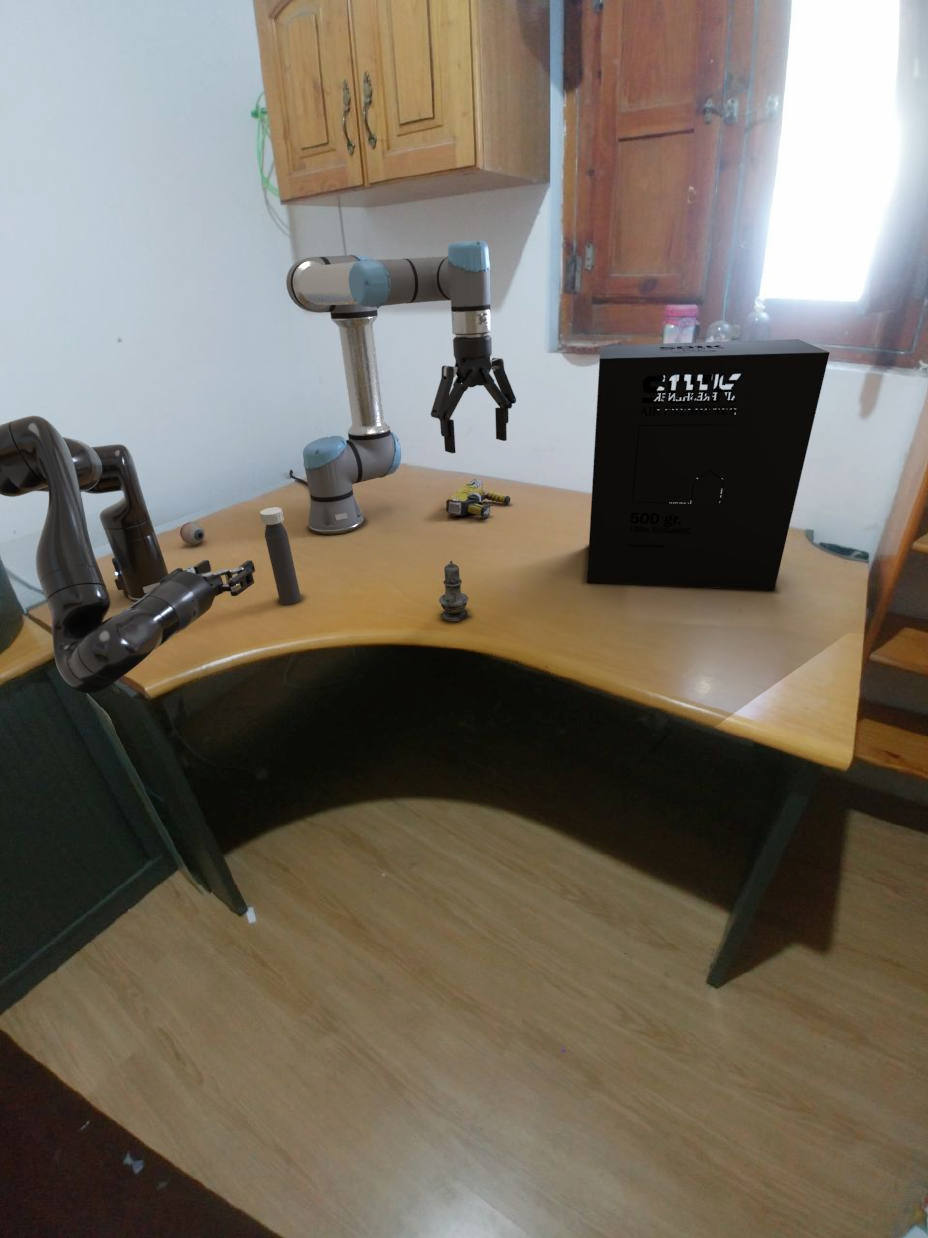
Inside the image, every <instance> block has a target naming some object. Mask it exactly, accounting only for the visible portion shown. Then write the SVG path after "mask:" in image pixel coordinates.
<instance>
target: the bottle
mask: <svg viewBox="0 0 928 1238" xmlns="http://www.w3.org/2000/svg"><path fill="white" fill-rule="evenodd" d="M264 539H265V542H266V548H267V552H268V555H269V560H270V565H271V569H272V573H273V577H274V582H275V586H276V590H277V594H278V599H279V603H280V604H281V605H284V606H290V605H295V604H296V603H299V602H300V601H301V600H302V597H301V591H300V587H299V582H298V577H297V572H296V568H295V563H294V558H293V554H292V549H291V544H290V540H289V534H288V531H287V529H286V527H285V526H284V524H283V522H280V523H278V524H273V525H265V529H264Z"/></svg>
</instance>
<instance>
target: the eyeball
mask: <svg viewBox="0 0 928 1238" xmlns="http://www.w3.org/2000/svg"><path fill="white" fill-rule="evenodd" d="M179 532H180V533H179V535H180V538H181V539H182V542H184V543H185V544H187V545H191V546H192V545H193V546H194V545H199V544H200V543H202V542H203V540H204V539H205V535H206V533H205V528H204V527H203V526H202V525H201V524H200V523H198V522H195V521H190V522H189V521H188V522H186V523H184V524H183V525H182V526H181V528H180V530H179Z"/></svg>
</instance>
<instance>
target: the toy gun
mask: <svg viewBox="0 0 928 1238" xmlns="http://www.w3.org/2000/svg"><path fill="white" fill-rule="evenodd" d="M482 486H483V480H481V479H478V480H477V479H476V478H474V479H472V480H471V481H470V482H469V483H466V484H465V485H463V486H462V487H461V488H460V489H458V490H457V491H456V492H455V493H454V494H452V495H451V496H450V497H449V498H448V499H446V501H445V512H446V513H447V514H450V516H454V517H456V516H467V515H477V516H479V517H480V519H481V520H484V519H486V518H487V517H489V516H490V513H491V504H490V503H485V504H484V502H483V501H485V500H488V501H491V502H496V503H499V504H501V503H502V504H504V505H509V504H510V503H511V497H510V495H503V494H500V493H495V492H492V491H487V493H486V494H485V491H484V490H483V488H481V487H482Z"/></svg>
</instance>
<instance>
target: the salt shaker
mask: <svg viewBox="0 0 928 1238" xmlns="http://www.w3.org/2000/svg"><path fill="white" fill-rule="evenodd" d="M443 570H444V580H443V582H442V583H443V585H444V591H445V593H444V594H442V595H441V596H440V597H439V598H438V602H439V603H440V606H441V608H442V609H443V611H442V613H441V617H442V619H444V620H445V621H448V622H449V621H450V622H459V621H463V620H465V619H466V618H467V617H468V614H469V613H468V611H467V609H466V607H467V605H468V602H469V596H468V595H467V594H466V593H463V592H462V589H461V587H462V586H461V584H462V582H463V581H462V579H461V578H460V568H459V565H457V564H455V563H454V562H453V560H450V561H449V564H447V565H445V566H444V569H443Z"/></svg>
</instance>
